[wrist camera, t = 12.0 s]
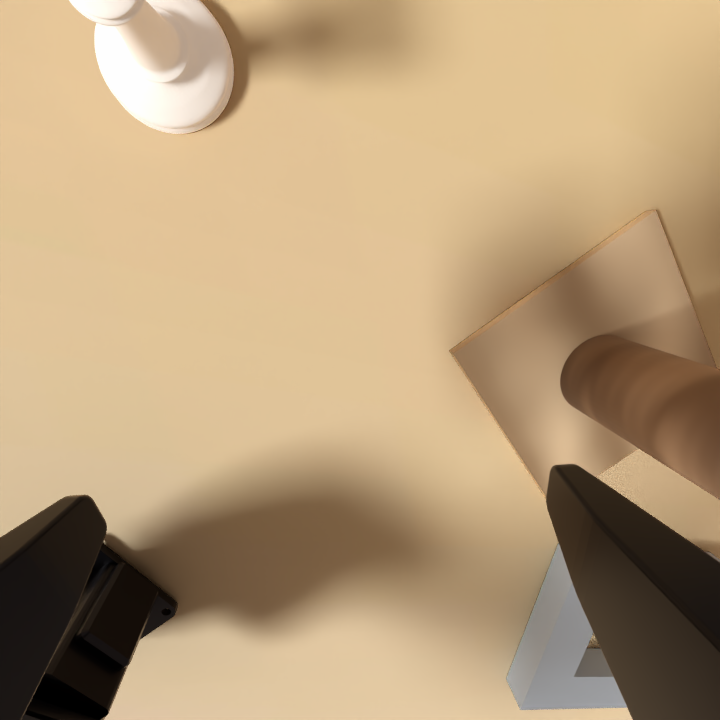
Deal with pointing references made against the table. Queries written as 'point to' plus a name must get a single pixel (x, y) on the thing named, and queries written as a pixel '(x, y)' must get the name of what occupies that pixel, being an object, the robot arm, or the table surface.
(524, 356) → the wooden coaster
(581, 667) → the holder block
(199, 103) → the chess piece
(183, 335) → the table surface
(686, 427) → the walnut dowel
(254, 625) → the table surface
